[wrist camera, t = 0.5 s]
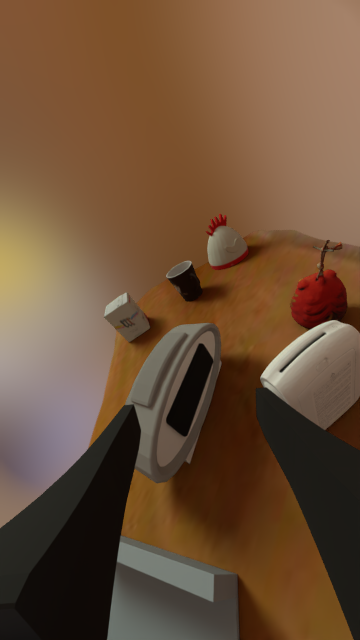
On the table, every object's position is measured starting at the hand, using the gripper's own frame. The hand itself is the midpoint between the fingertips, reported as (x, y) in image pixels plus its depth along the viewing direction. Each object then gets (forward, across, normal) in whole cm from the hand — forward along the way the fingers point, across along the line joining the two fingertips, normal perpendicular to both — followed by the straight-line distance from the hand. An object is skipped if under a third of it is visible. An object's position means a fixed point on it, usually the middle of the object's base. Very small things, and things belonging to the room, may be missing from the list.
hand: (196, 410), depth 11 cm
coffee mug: (+51, -3, +3) cm, 51 cm away
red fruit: (+22, -23, +5) cm, 32 cm away
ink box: (+50, +16, +12) cm, 54 cm away
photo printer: (+10, -15, +12) cm, 21 cm away
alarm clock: (+18, 0, +15) cm, 23 cm away
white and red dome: (+63, -18, -6) cm, 66 cm away
